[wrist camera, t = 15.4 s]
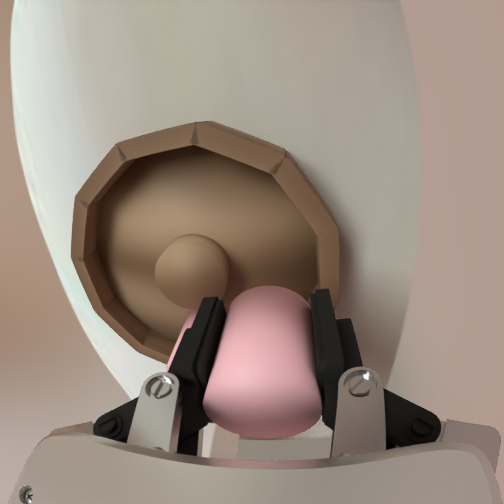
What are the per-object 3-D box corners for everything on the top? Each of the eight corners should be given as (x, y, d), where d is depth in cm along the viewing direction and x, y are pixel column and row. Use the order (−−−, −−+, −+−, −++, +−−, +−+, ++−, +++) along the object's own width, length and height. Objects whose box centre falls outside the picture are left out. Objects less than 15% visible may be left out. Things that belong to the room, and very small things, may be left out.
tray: (71, 160, 15) (43, 170, 13) (320, 107, 13) (328, 104, 11) (138, 345, 22) (126, 368, 20) (331, 341, 20) (335, 369, 17)
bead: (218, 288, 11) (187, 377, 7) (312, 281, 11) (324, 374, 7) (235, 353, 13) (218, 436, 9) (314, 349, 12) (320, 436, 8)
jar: (207, 428, 28) (186, 520, 17) (145, 394, 26) (106, 489, 15) (260, 403, 24) (246, 521, 13) (187, 361, 22) (143, 490, 12)
